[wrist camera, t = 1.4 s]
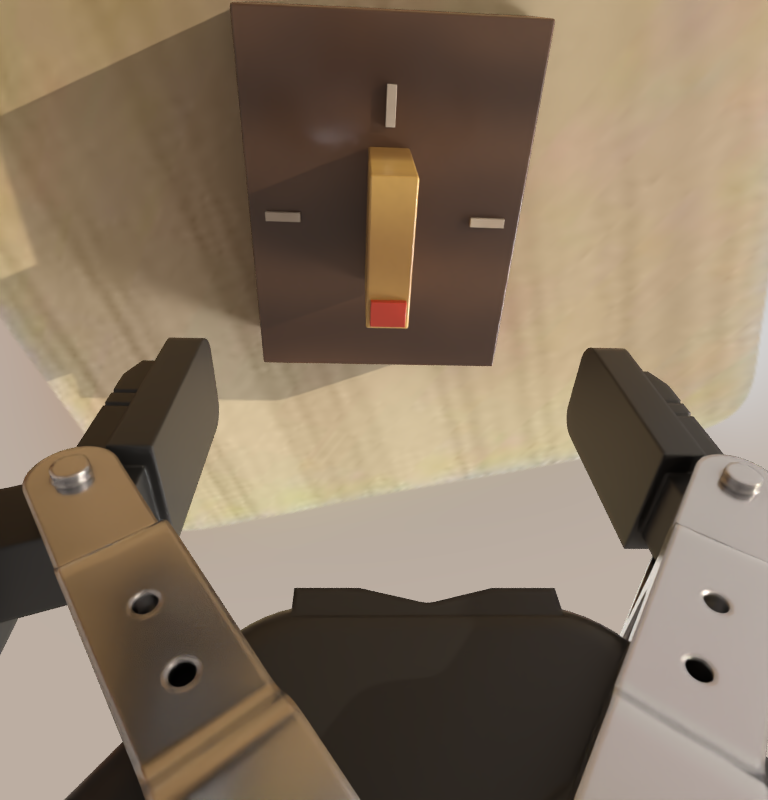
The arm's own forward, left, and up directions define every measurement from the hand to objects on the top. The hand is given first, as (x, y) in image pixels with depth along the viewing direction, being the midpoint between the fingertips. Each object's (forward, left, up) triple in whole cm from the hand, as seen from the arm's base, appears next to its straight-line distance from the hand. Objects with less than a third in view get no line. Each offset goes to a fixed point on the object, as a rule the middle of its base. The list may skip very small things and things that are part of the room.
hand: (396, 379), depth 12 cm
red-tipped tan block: (+1, 0, -13) cm, 13 cm away
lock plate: (+1, 0, -16) cm, 16 cm away
